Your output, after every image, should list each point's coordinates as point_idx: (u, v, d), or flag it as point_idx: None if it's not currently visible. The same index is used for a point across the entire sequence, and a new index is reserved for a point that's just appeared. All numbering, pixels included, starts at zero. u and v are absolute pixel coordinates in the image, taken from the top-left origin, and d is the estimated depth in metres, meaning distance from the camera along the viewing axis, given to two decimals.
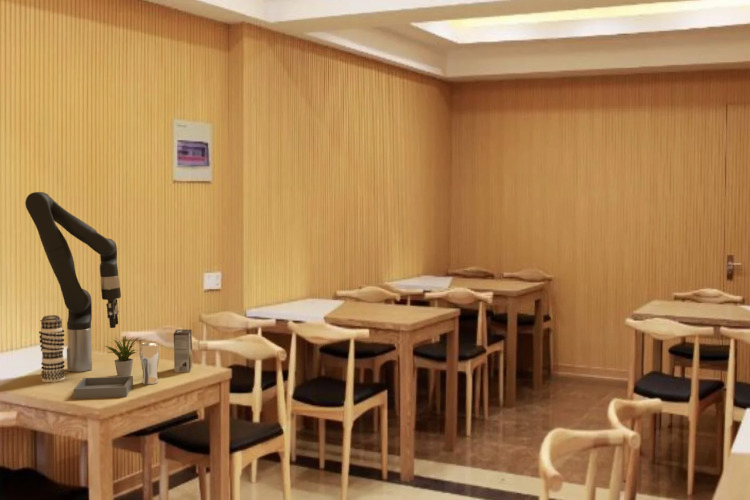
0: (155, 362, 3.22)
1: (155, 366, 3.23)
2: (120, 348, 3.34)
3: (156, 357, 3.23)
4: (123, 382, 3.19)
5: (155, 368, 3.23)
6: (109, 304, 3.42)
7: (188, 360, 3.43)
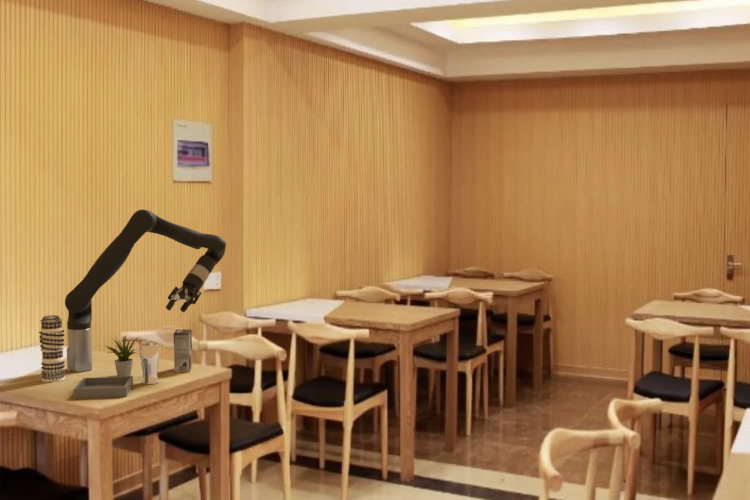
0: (155, 362, 3.22)
1: (155, 366, 3.23)
2: (120, 348, 3.34)
3: (156, 357, 3.23)
4: (123, 382, 3.19)
5: (155, 368, 3.23)
6: (199, 291, 3.34)
7: (188, 360, 3.43)
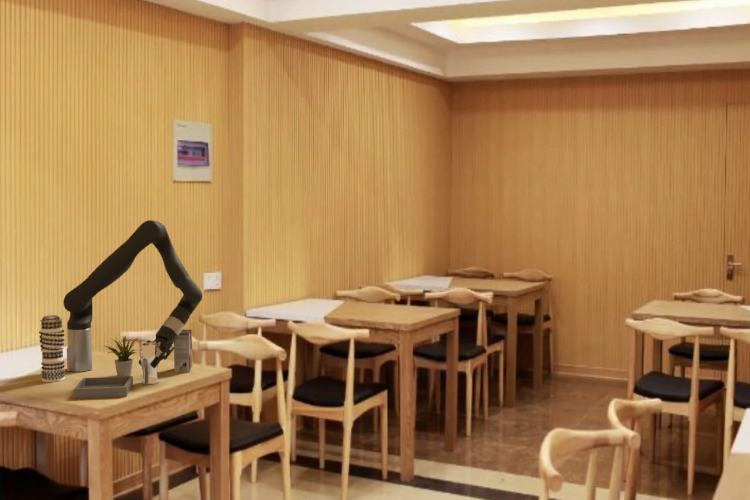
0: None
1: None
2: (120, 348, 3.34)
3: None
4: (123, 382, 3.19)
5: (155, 368, 3.23)
6: (171, 346, 3.24)
7: (188, 360, 3.43)
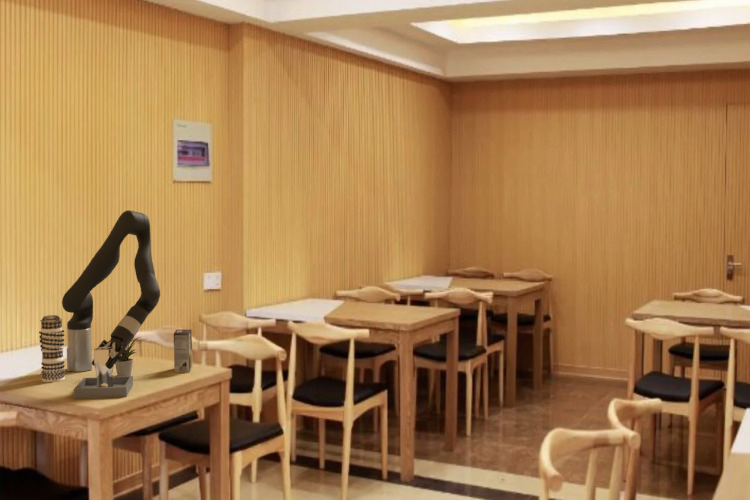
0: None
1: (109, 371, 3.09)
2: None
3: None
4: (123, 382, 3.19)
5: (110, 374, 3.09)
6: (127, 346, 3.10)
7: (188, 360, 3.43)
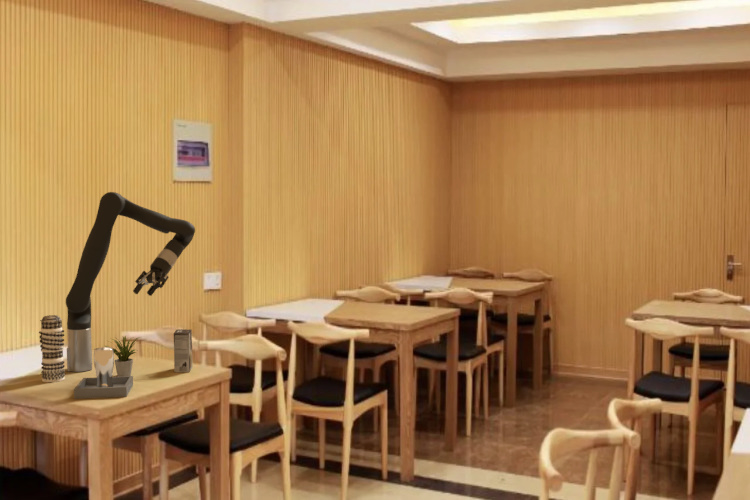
0: (109, 367, 3.08)
1: (110, 372, 3.09)
2: (120, 348, 3.34)
3: (111, 362, 3.09)
4: (123, 382, 3.19)
5: (110, 374, 3.09)
6: (166, 275, 3.37)
7: (188, 360, 3.43)
